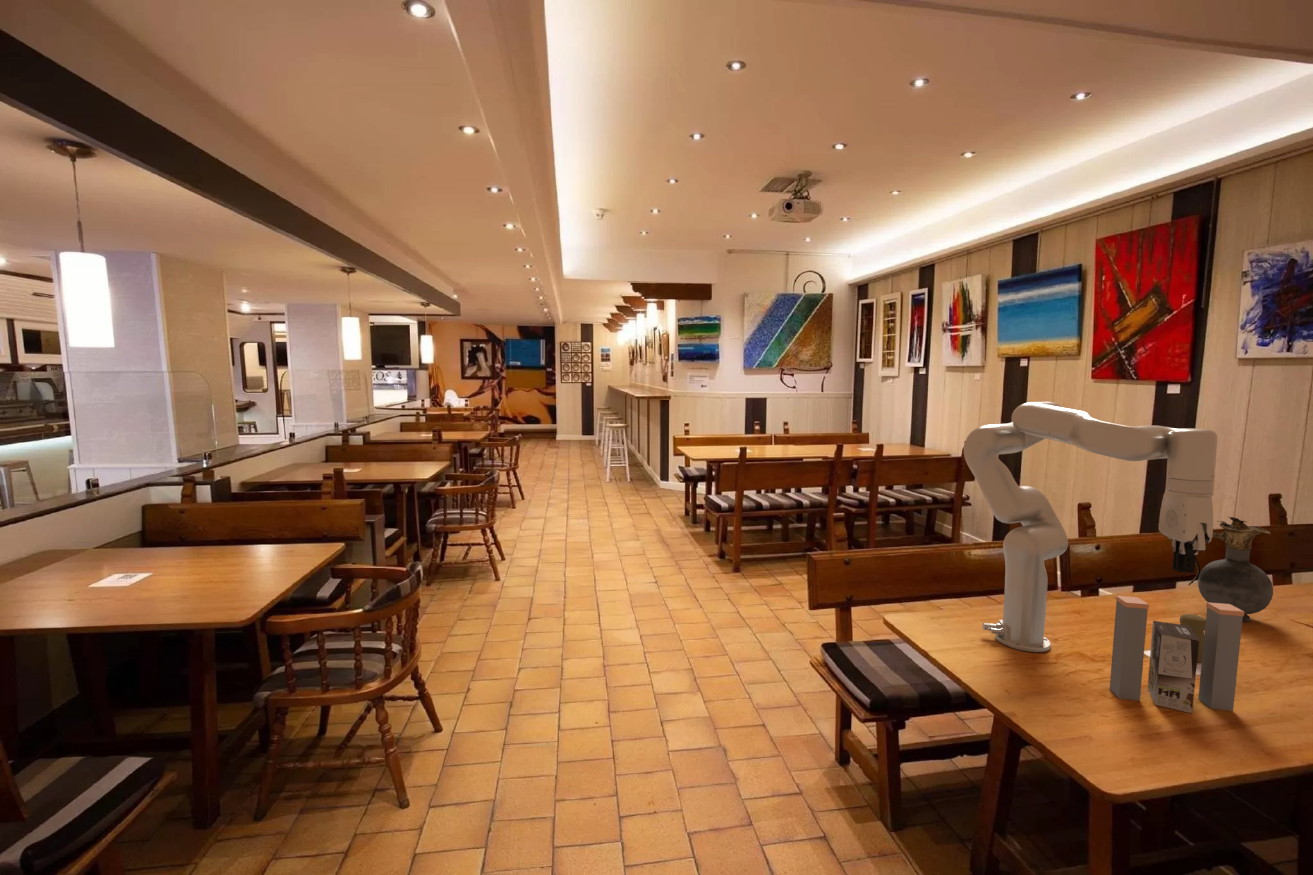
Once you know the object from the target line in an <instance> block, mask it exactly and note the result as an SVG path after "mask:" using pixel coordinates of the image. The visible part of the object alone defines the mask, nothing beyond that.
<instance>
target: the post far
mask: <svg viewBox="0 0 1313 875" xmlns="http://www.w3.org/2000/svg"><path fill="white" fill-rule="evenodd" d="M1205 604H1206V606H1205V607H1206V614H1205V619H1206V624H1205V631H1204V644H1203V655H1202V663H1201V664H1200V665H1201V667H1200V677H1199V687H1198V696H1197V697H1198V700H1199V701H1200V702H1202V703H1203V705H1206V706H1207V707H1208V708H1209V709H1212V710H1220V711H1230V712H1233V711H1234V707H1235V706H1234V705H1235V699H1236V698H1235V696H1236V695H1235V694H1236V686H1237V676H1238V669H1239V668H1238V667H1239V658H1240V647H1241V640H1242V639H1241V638H1242V628H1243V621H1242V620H1243V616H1244V611H1242V610H1240V609H1238V608H1236V607H1235V606H1233V605H1231V604H1222V603H1209V602H1207V601H1206V603H1205Z"/></svg>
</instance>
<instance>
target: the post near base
mask: <svg viewBox="0 0 1313 875" xmlns="http://www.w3.org/2000/svg"><path fill="white" fill-rule="evenodd" d="M1115 601H1116V603H1115V615H1114V616H1115V618H1114V628H1113V642H1112V652H1111V653H1112V655H1111V666H1110V677H1109V678H1110V679H1109V691H1111V692H1112V694H1114V695H1115V696H1116V697H1117V698H1118V699H1120V700H1128V701H1129V700H1130V701H1138V702H1139V701H1141V693H1142V680H1143V668H1144V658H1145V657H1144V656H1145V645H1146V635H1147V634H1146V632H1147V622H1148V621H1147V620H1148V610H1149V607H1150V605H1149V603H1147V602H1146V601H1144V600H1143V599H1141V598H1139V597H1136V596H1126V595H1125V596H1124V595H1116V596H1115Z"/></svg>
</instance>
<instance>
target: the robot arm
mask: <svg viewBox="0 0 1313 875" xmlns="http://www.w3.org/2000/svg"><path fill="white" fill-rule="evenodd" d="M1045 439H1046V440H1050V441H1051V440H1052V441H1056V442H1060V443H1063V444H1068V445H1072V446H1075V447H1076V448H1079V449H1082V450H1085V451H1087V452H1090V453H1093V454H1098V455H1099V456H1100V455H1101V456H1103V457H1104V456H1105V457H1108V458H1109V457H1110V458H1114V459H1118V460H1122V461H1128V462H1129V461H1130V462H1142V461H1150V460H1151V461H1152V460H1159V459H1161V460H1162V459H1167V460H1166V461H1167V463H1166V480H1165V491H1164V493H1163V497H1162V501H1161V506H1160V512H1159V520H1158V531H1159V532H1160V533H1161V535H1163V536H1166V537H1167V538H1168V539H1169V541H1171V548H1172V549H1171V550H1172V551H1173V553H1172V557H1173V558H1172V565H1171V566H1172V570H1174V571H1175V572H1178V573H1187V574H1188V573H1189V574H1194V573H1195V572H1196V564H1195V560H1196V559H1197V555H1198V554H1199V551H1206V548H1207V547H1206V544H1210V543H1211V541H1212V538H1213V537H1212V534H1213V532H1214V531H1213V530H1214V506H1213V504H1214V503H1213V496H1214V491H1215V490H1214V488H1215V478H1216V476H1215V475H1216V462H1217V448H1218V434H1217V433H1216V432H1215V431H1214V430H1211V429H1207V428H1206V429H1205V428H1188V427H1187V428H1185V427H1184V428H1175V427H1170V426H1163V425H1140V426H1138V425H1137V426H1129V425H1123V424H1118V423H1112V422H1107V421H1102V420H1100V419H1096V418H1094V417H1092V416H1091V413H1089V412H1088V411H1084V410H1079V409H1074V408H1067V407H1063V406H1062V405H1060V404H1059V403H1057V402H1054V401H1030V402H1029V401H1028V402H1025V403H1022V404H1020V405H1018V406H1017V407H1016V408H1015V409H1014V410H1013V412H1012V414H1011V422H1008V423H1007V422H1006V423H993V424H992V423H991V424H983V425H981V426H978V427H976V428H974V429H973V430H972V431H970V432H969V434H968V436H967V437H966V439H965V441H964V445H963V456H964V460H965V462H966V465H967V466H968V468H969V470H970V471H971V473H972V475H973V477H974V478H975V480H976V482H977V484H978V487H979V488H980V490H981V492H982V495H983V496H984V499H985V500H986V503H987V505H988V507H989V509H990V510H991V512H992V515H993V516H994V518H995V519H996V520H997V521H999V522H1001V523H1003V524H1017V523H1020V524H1021V525H1022V526H1019V527H1015V528H1013V529H1012V530H1010V531H1009V532H1008V533H1007V534H1006V535H1005V537H1004V539H1003V543H1002V544H1003V545H1002V548H1003V554H1004V555H1003V556H1004V561H1005V562H1004V565H1005V574H1004V575H1005V576H1004V594H1003V595H1004V596H1003V610H1002V613H1003V614H1002V619H998V622H995V623H990V622H989V623H988V622H982V624H981V625H982V630H983V631H990V633H991V634H995V635H994V636H995V639H996V640H997V641H998V642H999V643H1001V644H1003V646H1004V645H1005V646H1007V647H1009V648H1012V649H1014V650H1019V651H1024V652H1028V653H1029V652H1031V653H1042V652H1043V653H1044V652H1047V651H1049V650H1050V649H1051V648H1052V647H1051V644H1052V643H1051V641H1050V640H1049V639H1048V638H1047V637H1046V636H1045V628H1046V614H1047V612H1046V611H1047V595H1048V573H1047V569H1046V567H1045V561H1046V560H1047V561H1048V560H1050V559H1055V558H1057V557H1059V556H1061V555H1063V554H1064V553H1065V552H1066V551H1067V549H1068V546H1069V541H1068V536H1067V533H1066V531H1065V528H1064V526H1062V523H1061V521H1060V519H1059V518H1058V516H1057V514H1056V512H1055V510H1054V509H1053V506H1052V505H1051V503H1050V502H1049V499H1048V498H1047V496H1045V494H1044V493H1043V492H1041V490H1040V489H1038V488H1036V487H1033V486H1029V485H1021V486H1019V484H1018V483H1017V482H1016V480H1015V478H1014V477H1013V474H1012V471H1010V470H1009V468H1008V467H1007V465H1006V464H1005V463H1004V462H1002V461H1001V460H1000V459H999V456H1000V455H1008V454H1015V453H1020V452H1022V451H1024V450H1026V449H1028V448H1031V447H1032V446H1034V445H1036V444H1038V443H1040V442H1042V441H1044V440H1045ZM1193 539H1194V540H1193Z"/></svg>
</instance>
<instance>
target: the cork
mask: <svg viewBox="0 0 1313 875" xmlns="http://www.w3.org/2000/svg"><path fill="white" fill-rule="evenodd" d="M1179 623H1180V625H1186V626H1189V627H1190V629H1191V630H1192V631H1193V633H1194V634H1195V635H1196V637H1197V638H1198V639H1199V641H1200V642H1199V650H1198V660H1197V664H1202V655H1203V644H1204V634H1205V624H1206V618H1205V617H1202V616H1200V615H1196V614H1193V613H1184V614H1182V615H1181V616H1179Z"/></svg>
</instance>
